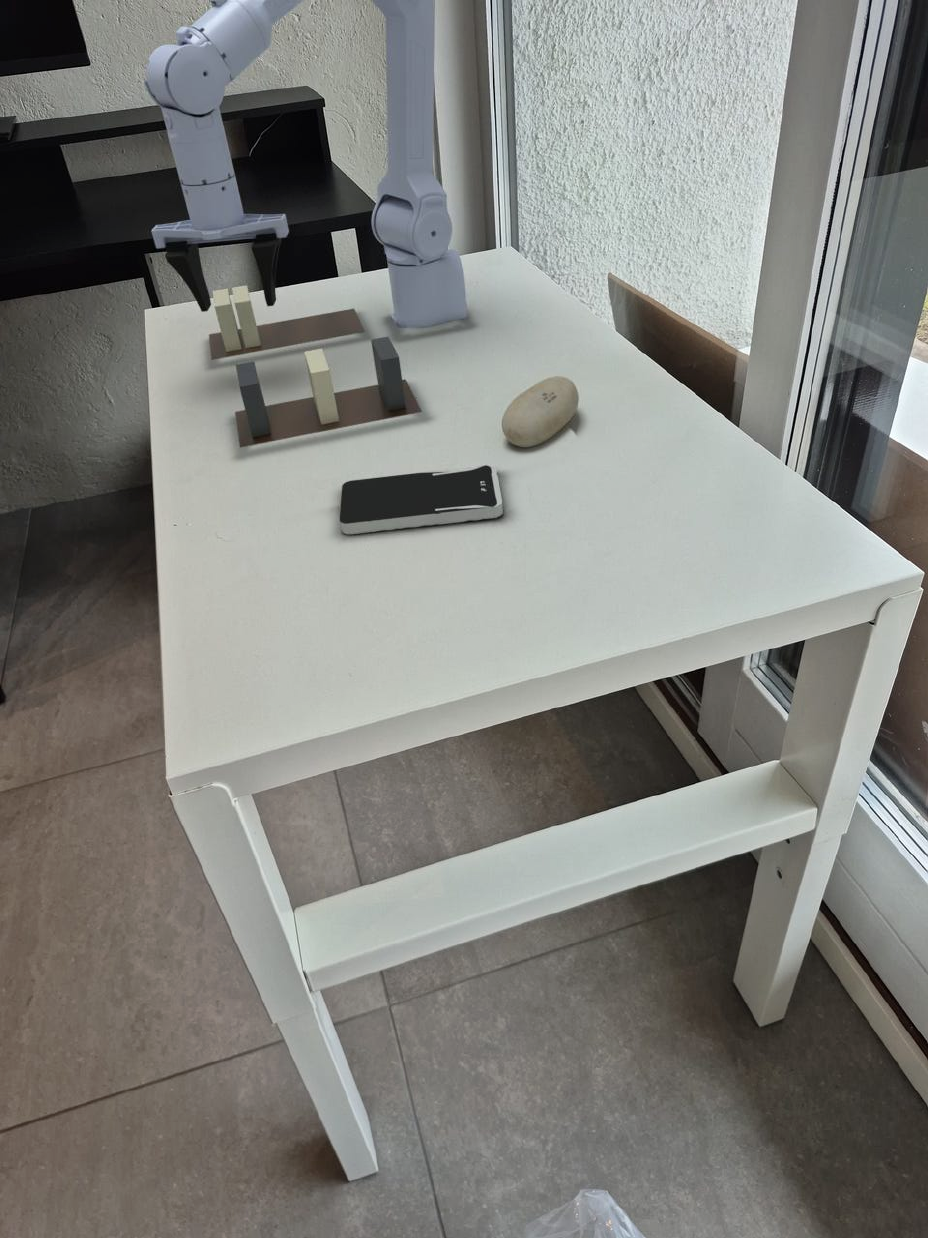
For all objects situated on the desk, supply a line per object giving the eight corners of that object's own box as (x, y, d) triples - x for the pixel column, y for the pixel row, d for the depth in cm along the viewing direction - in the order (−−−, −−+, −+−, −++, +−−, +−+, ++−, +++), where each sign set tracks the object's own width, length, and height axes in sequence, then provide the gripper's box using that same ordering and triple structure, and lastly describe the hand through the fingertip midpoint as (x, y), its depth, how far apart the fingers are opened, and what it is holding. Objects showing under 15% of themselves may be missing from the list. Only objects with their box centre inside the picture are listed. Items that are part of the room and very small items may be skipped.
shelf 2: (406, 386, 106) (405, 378, 105) (423, 419, 99) (422, 411, 99) (236, 419, 103) (234, 411, 103) (241, 455, 96) (239, 447, 96)
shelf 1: (355, 315, 125) (354, 308, 125) (366, 338, 118) (365, 331, 118) (210, 341, 122) (208, 334, 122) (213, 366, 115) (211, 359, 115)
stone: (594, 385, 96) (562, 404, 86) (571, 438, 99) (537, 463, 89) (546, 362, 97) (509, 378, 87) (525, 415, 100) (486, 437, 90)
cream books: (257, 329, 121) (247, 284, 118) (261, 345, 117) (250, 299, 113) (224, 335, 121) (212, 290, 117) (226, 352, 116) (214, 306, 112)
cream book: (331, 398, 103) (321, 348, 99) (339, 421, 98) (329, 369, 95) (314, 401, 103) (303, 351, 99) (321, 424, 98) (310, 372, 94)
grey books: (395, 386, 104) (388, 335, 100) (406, 408, 100) (399, 356, 96) (248, 414, 102) (235, 364, 98) (252, 438, 97) (239, 386, 93)
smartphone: (342, 481, 88) (495, 463, 88) (345, 493, 89) (496, 475, 89) (339, 524, 82) (502, 505, 82) (341, 536, 83) (503, 518, 83)
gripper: (129, 194, 93) (168, 323, 101) (268, 182, 92) (295, 313, 100) (148, 176, 98) (184, 300, 107) (280, 164, 97) (305, 290, 106)
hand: (239, 305), depth 104 cm, fingers open, 7 cm apart
